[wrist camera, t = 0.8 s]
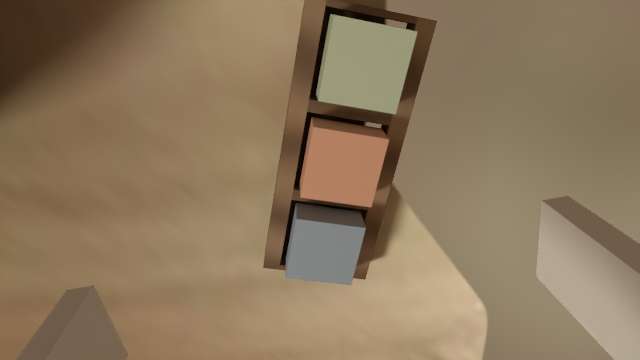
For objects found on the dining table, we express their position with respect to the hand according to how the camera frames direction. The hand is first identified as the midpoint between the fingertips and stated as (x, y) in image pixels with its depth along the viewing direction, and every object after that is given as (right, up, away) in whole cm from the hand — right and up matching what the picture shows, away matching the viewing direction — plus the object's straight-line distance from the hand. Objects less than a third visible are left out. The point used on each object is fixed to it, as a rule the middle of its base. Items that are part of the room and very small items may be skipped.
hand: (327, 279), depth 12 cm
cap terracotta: (+1, +5, +23) cm, 23 cm away
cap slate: (0, -2, +26) cm, 26 cm away
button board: (+1, +6, +25) cm, 25 cm away
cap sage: (+3, +12, +20) cm, 23 cm away
